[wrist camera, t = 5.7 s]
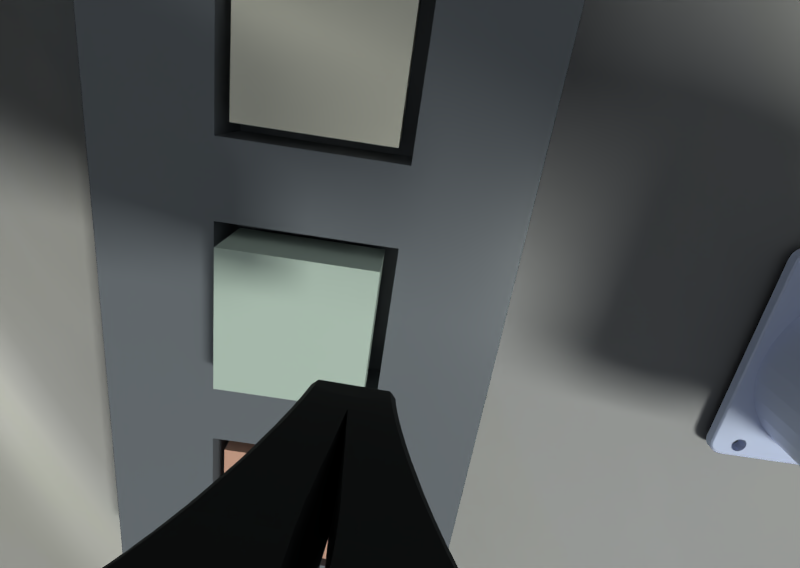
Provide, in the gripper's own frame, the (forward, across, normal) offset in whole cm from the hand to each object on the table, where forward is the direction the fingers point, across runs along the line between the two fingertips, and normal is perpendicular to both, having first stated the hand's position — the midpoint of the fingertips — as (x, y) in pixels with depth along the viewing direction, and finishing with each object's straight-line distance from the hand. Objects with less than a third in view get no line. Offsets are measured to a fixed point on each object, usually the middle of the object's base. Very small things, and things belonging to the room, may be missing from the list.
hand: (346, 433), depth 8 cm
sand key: (+8, +2, -6) cm, 11 cm away
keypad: (+9, +2, +1) cm, 9 cm away
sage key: (+7, +2, +1) cm, 8 cm away
